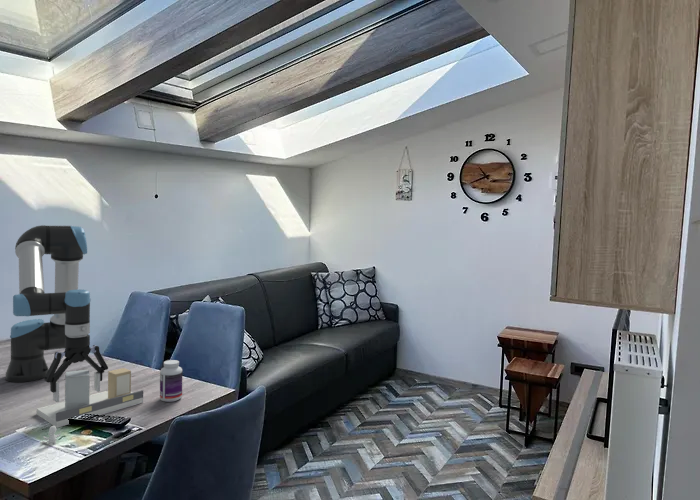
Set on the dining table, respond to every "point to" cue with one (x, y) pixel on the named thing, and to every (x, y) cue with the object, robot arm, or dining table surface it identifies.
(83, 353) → the robot arm
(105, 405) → the shelf
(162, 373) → the pill bottle
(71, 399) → the supplement box
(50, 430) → the figurine
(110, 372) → the carton
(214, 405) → the dining table surface
